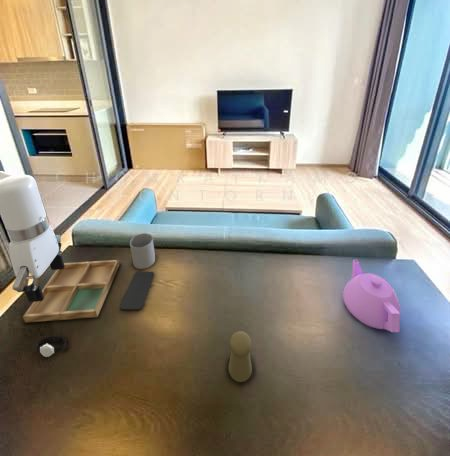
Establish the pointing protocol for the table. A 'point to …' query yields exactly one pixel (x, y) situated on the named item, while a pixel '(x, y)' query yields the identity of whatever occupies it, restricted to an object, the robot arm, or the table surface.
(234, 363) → the olive pawn figure
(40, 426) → the table surface
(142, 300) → the phone
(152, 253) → the cup
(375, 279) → the teapot
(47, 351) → the watch
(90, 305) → the tray
